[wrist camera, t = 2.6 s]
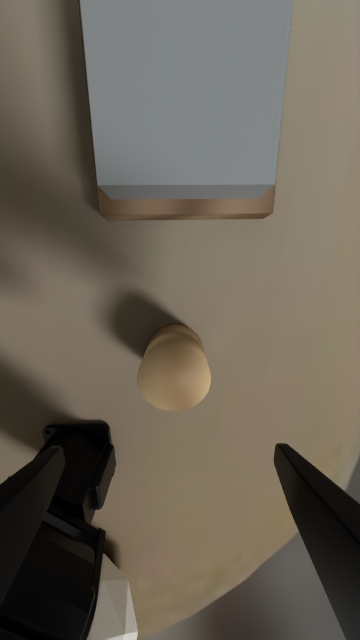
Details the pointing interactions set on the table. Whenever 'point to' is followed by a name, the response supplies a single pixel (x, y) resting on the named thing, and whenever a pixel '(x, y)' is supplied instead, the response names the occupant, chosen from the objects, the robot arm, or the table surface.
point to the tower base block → (180, 201)
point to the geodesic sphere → (113, 606)
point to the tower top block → (186, 95)
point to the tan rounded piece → (174, 369)
